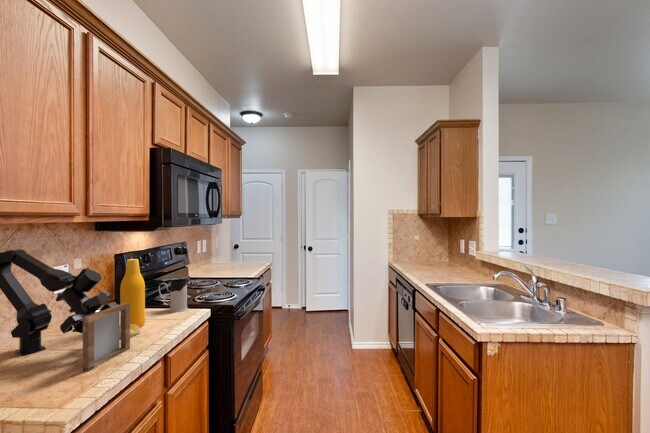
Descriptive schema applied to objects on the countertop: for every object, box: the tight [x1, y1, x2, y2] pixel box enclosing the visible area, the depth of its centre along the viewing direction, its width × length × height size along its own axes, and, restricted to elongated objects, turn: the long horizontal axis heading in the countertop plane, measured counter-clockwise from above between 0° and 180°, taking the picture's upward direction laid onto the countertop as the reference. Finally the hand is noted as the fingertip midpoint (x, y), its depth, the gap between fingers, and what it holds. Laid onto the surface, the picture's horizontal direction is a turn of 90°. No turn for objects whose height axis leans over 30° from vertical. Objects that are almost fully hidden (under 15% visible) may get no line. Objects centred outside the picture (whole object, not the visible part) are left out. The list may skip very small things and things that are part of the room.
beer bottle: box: [119, 258, 146, 329], centre depth 137 cm, size 9×9×29 cm
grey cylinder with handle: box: [158, 278, 189, 313], centre depth 161 cm, size 9×14×15 cm, turn 94°
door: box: [94, 311, 120, 362], centre depth 107 cm, size 6×12×14 cm, turn 172°
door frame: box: [82, 303, 131, 372], centre depth 106 cm, size 2×17×16 cm, turn 172°
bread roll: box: [119, 324, 141, 340], centre depth 127 cm, size 8×9×4 cm
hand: (106, 334), depth 111 cm, fingers open, 6 cm apart
